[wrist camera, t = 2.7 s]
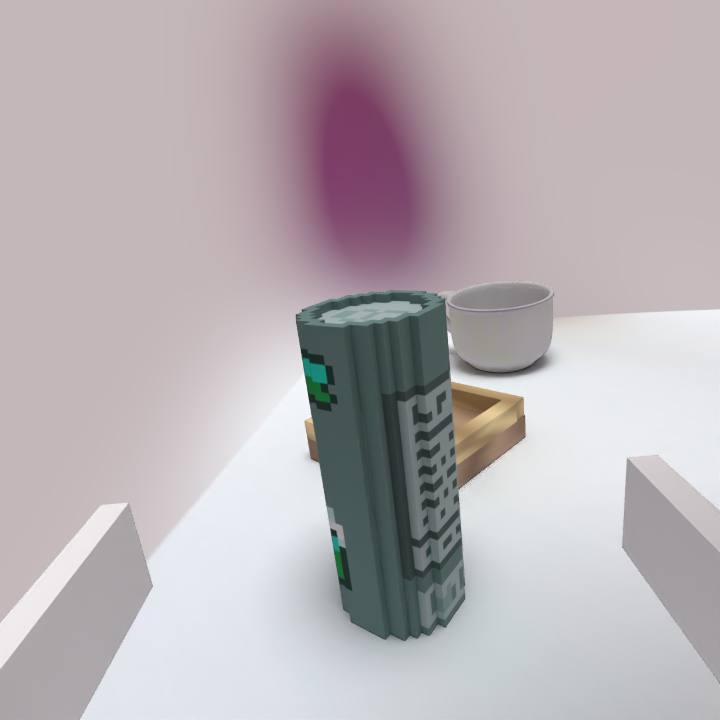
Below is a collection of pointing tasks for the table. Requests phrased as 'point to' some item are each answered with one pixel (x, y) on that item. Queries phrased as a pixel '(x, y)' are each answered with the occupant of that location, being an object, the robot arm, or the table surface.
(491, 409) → the tray
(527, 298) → the teacup
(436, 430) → the can
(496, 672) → the table surface
